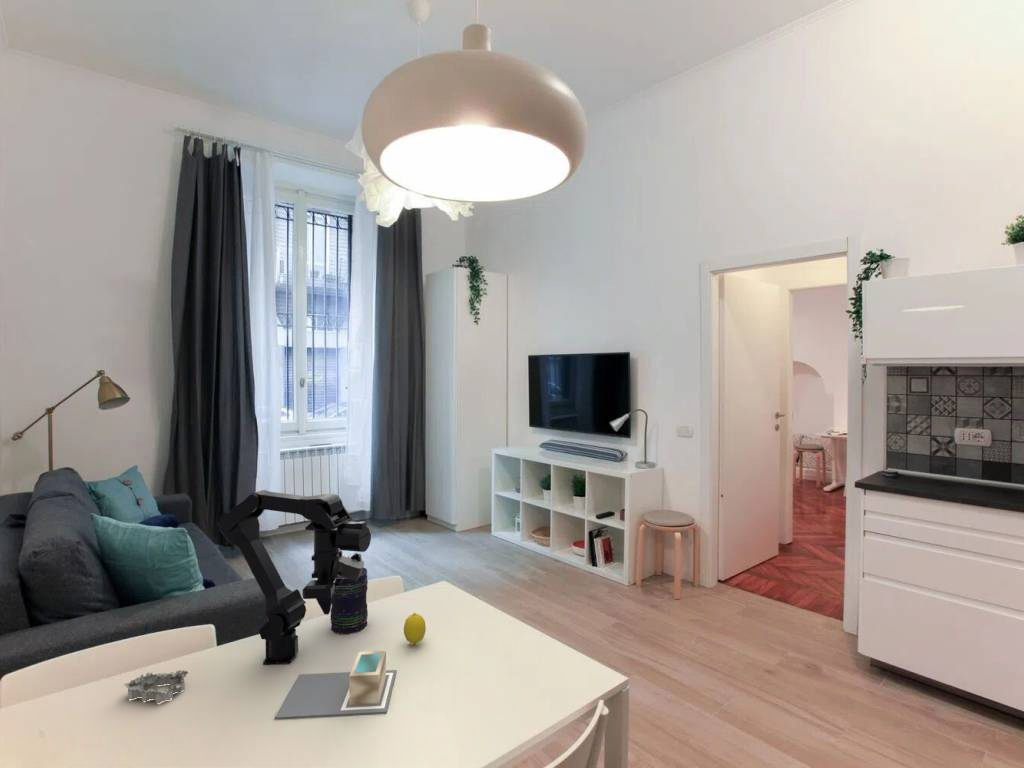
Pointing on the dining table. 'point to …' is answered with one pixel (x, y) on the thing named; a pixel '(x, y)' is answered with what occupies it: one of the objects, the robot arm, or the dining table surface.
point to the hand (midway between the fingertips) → (326, 613)
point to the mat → (329, 697)
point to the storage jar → (350, 605)
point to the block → (367, 678)
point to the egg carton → (150, 686)
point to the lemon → (414, 628)
